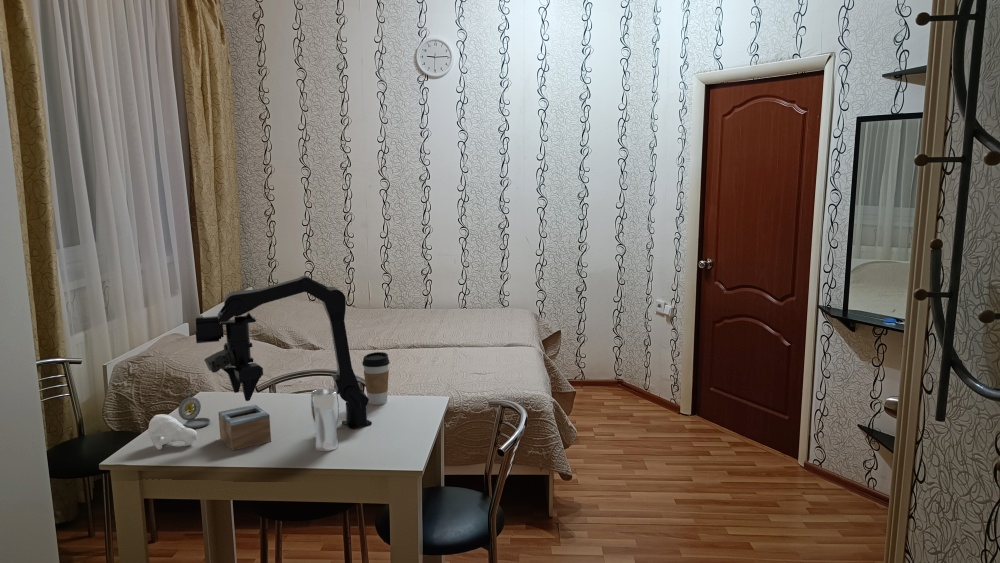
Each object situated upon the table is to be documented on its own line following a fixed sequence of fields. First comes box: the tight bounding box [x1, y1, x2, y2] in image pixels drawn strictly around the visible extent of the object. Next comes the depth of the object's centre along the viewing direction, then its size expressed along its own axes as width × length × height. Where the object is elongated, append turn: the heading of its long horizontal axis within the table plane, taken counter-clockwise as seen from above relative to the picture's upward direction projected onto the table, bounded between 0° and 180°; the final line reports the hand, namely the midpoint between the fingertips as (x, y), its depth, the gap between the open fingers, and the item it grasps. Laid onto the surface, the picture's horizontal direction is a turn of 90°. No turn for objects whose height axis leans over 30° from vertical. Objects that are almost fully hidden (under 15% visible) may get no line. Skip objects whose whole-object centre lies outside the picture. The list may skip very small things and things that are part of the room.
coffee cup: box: [361, 351, 390, 406], centre depth 226 cm, size 8×8×15 cm
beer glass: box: [310, 387, 340, 452], centre depth 189 cm, size 7×7×15 cm
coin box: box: [217, 404, 272, 451], centre depth 196 cm, size 11×10×8 cm
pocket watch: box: [177, 388, 211, 429], centre depth 209 cm, size 8×8×10 cm
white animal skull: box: [147, 413, 198, 451], centre depth 193 cm, size 6×8×12 cm
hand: (242, 396), depth 195 cm, fingers open, 9 cm apart
